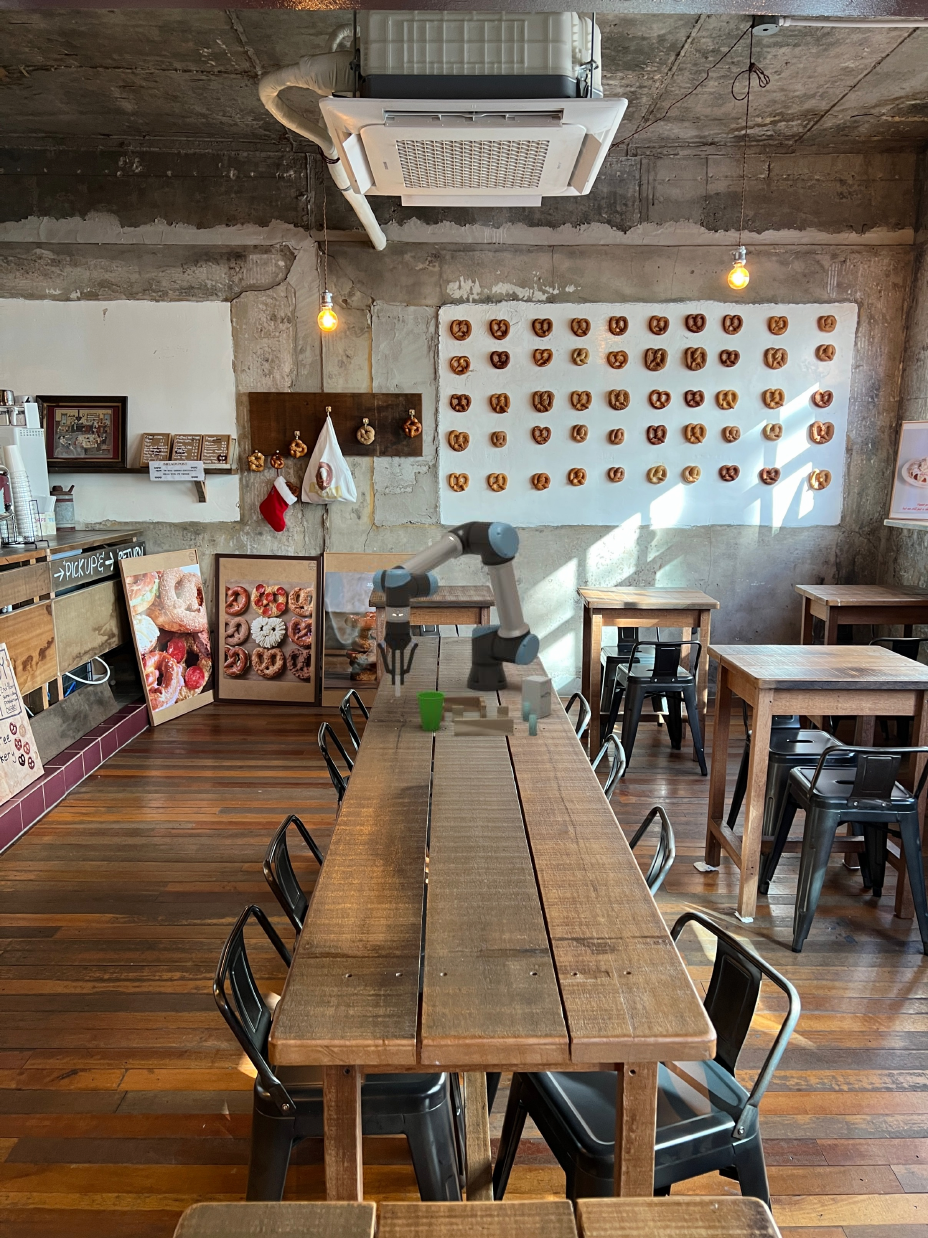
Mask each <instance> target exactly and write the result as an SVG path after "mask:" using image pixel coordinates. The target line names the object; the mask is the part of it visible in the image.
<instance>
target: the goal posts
mask: <svg viewBox="0 0 928 1238" xmlns="http://www.w3.org/2000/svg"><path fill="white" fill-rule="evenodd" d="M530 708H531V703H530V702H523V716H522V722H525V723H526V722H527V723H528V736H533V737H534V736H535V737H536V736H537V735H538V733H537V731H538V730H537V729H538V719H537V715H534V714H532V715H530Z"/></svg>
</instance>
